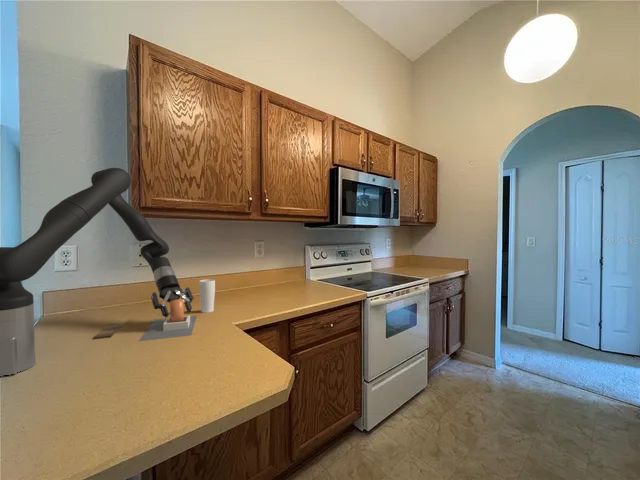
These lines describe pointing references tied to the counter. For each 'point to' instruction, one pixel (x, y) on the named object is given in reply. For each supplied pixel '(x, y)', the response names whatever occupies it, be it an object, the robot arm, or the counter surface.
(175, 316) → the orange cylinder
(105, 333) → the pad
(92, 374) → the counter surface
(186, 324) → the board
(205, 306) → the drinking glass
